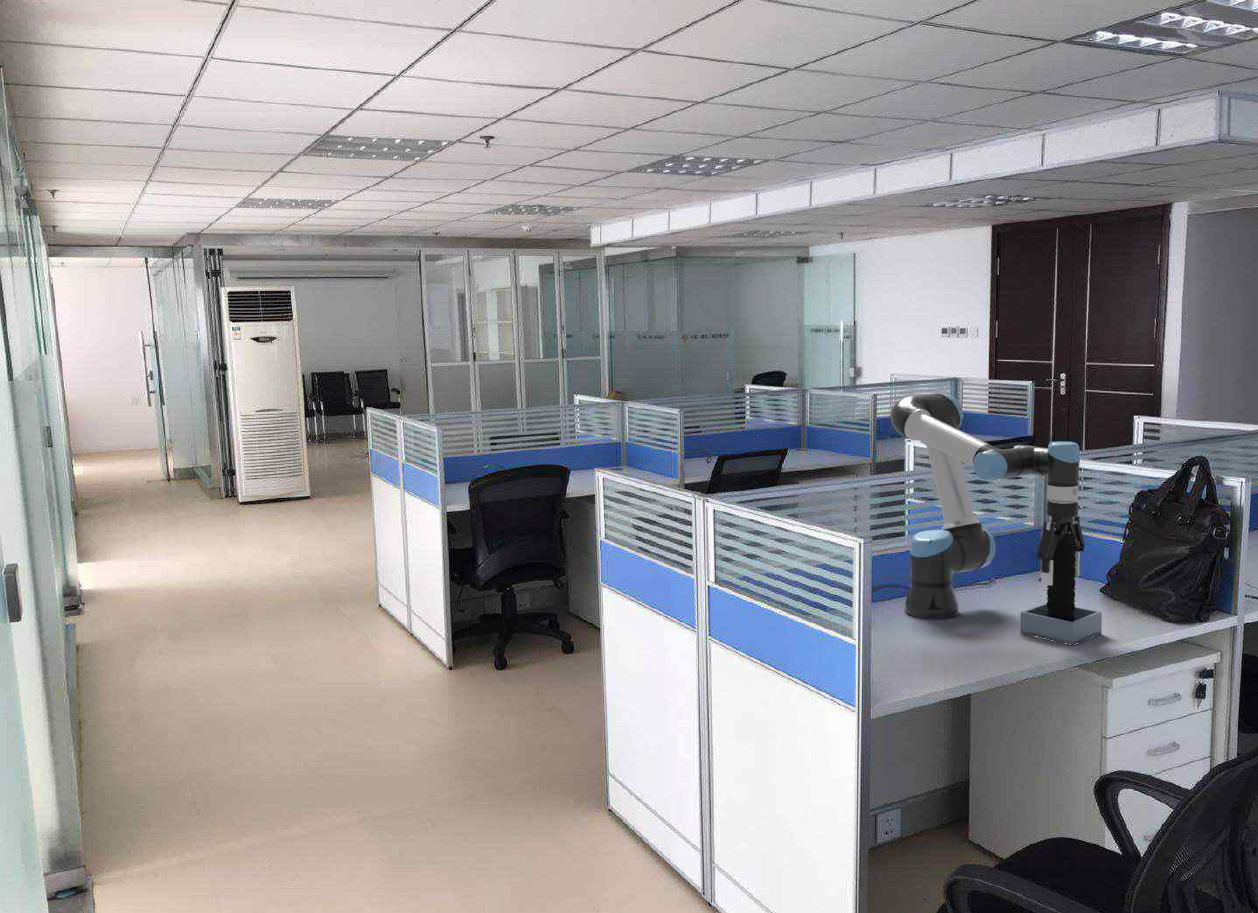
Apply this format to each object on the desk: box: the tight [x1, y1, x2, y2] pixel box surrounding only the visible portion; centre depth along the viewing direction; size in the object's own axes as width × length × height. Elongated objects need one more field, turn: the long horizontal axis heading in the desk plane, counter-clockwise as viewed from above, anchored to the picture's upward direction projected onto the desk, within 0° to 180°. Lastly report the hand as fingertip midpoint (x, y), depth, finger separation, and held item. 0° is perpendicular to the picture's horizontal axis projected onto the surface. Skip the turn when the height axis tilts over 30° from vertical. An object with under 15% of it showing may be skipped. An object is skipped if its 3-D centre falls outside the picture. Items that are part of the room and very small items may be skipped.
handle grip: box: [1046, 534, 1076, 622], centre depth 257 cm, size 10×26×10 cm
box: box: [1019, 602, 1103, 646], centre depth 258 cm, size 15×15×6 cm
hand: (1060, 579), depth 257 cm, fingers open, 13 cm apart
